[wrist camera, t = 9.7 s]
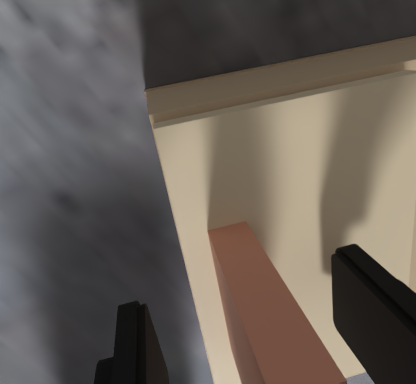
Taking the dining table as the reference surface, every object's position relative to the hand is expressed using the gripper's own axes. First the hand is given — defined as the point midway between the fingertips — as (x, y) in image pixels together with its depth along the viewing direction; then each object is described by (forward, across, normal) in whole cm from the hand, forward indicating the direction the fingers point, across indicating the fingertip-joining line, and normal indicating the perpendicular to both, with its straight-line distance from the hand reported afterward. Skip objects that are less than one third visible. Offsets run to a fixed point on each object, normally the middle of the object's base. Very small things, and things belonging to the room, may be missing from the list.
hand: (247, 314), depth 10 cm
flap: (+2, -2, 0) cm, 3 cm away
